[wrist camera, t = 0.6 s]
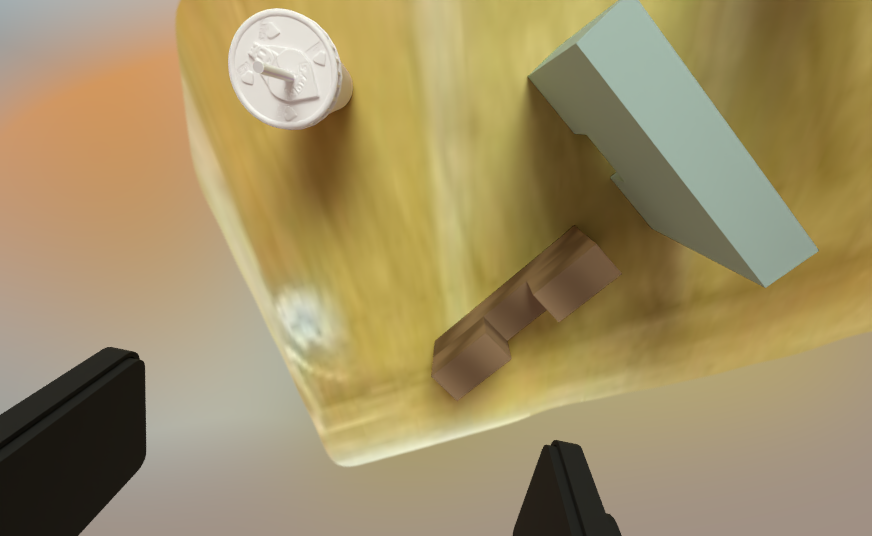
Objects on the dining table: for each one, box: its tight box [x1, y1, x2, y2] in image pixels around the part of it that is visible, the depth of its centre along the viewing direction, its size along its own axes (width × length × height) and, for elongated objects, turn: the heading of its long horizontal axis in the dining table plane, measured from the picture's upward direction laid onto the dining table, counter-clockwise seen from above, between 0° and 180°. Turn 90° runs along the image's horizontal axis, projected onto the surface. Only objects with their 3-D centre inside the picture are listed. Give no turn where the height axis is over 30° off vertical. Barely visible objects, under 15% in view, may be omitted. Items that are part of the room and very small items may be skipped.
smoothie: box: [228, 9, 353, 130], centre depth 27 cm, size 6×6×14 cm
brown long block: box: [431, 226, 622, 401], centre depth 36 cm, size 16×3×6 cm, turn 133°
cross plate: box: [528, 0, 819, 288], centre depth 28 cm, size 16×3×14 cm, turn 43°
